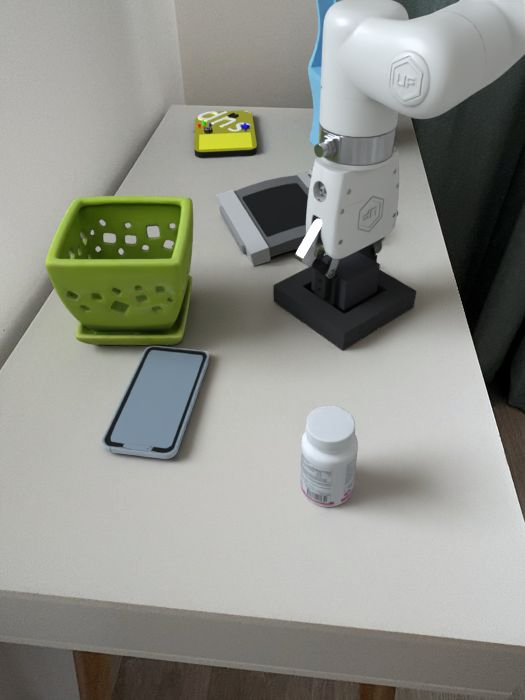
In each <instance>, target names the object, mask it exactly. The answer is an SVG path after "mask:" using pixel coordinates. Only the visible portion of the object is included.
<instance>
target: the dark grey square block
mask: <svg viewBox="0 0 525 700" xmlns="http://www.w3.org/2000/svg"><path fill="white" fill-rule="evenodd" d="M329 257H330V256H329V255H327V254H324V258H323V261H324V262H325V263H326V264H327V263H328V260H329ZM379 269H380V270H381V263H379V262H378V261H377V262H376V261H374V260H372V259H370V258H368V257H367V256H365V255H363V254H361V253H359V252H358V251H356V252H354V253H352V254H351V255H348V256H346V257H344V258H341V259H339V263H338V266H337V269H336V272H335V273H336V274H337V275H338V276H339V279H338V293H337V303H336V304H334V305H336V306H338V307H339V308H341V309H342V310H346V309H348V308H350V307H351V306H353V305H355V304H357V303H358V302H360V301H362V300H364V299H365V298H367V297H369V296H371V295H372V294H374V293H376V292H377V285H378V277H379ZM312 290H313V291H315V269H313V268H312Z"/></svg>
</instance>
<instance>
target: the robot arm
mask: <svg viewBox="0 0 525 700" xmlns="http://www.w3.org/2000/svg"><path fill="white" fill-rule="evenodd" d="M524 56H525V0H458V1H457V2H455V3H452V4H450V5H449V4H448V5H447V6H444V7H443V8H441V9H439V10H436V11H434V12H432V13H429V14H426V15H422V16H419V17H415V18H411V19H410V18H409V14H408V12H407V9H406V8H405V7H404V5H402V4H401V3H400V2H398V1H396V0H342V1H339V2H336V3H335V4H333V5H332V6H331V7H330V8H329V9H328V11H327V13H326V15H325V19H324V25H323V43H322V68H321V93H320V119H319V143H318V144H316V145H315V147H314V146H313V152H314V154H315V156H316V157H315V158H314V162H313V167H312V169H313V171H312V176H311V181H310V187H309V194H308V202H307V214H306V236H305V238H304V240H303V241H302V243H301V245H300V247H299V248H298V249H296V252H295V254H294V258H295V259H296V260H297V261H299V262H301V264H303V265H305V266H307V267H312V268H313V269H315V294H316V295H317V296H318V297H320V298H321V299H323V300H324V301H326V302H327V303H329V304H331V305H334V304H336V303H337V293H338V279H339V276H338V275H337V274H336V273H335V272H336V269H337V266H338V263H339V259H341V258H344V257H346V256H348V255H351V254H352V253H354V252H356V251H358V252H359V253H361V254H363V255H365V256H367V257H368V258H370V259H372V260H374V261H376V262H377V263H378V254H379V253H380V252H381V251H382V249H383V241H384V239H385V237H387V236H388V235H390V234H391V233H392V232H393V231H394V230H395V227H396V223H397V217H398V216H399V210H398V209H399V199H400V198H399V197H400V159H399V152H398V148H397V147H396V145H395V144H396V136H397V135H396V134H397V128H398V127H397V126H398V119H399V114H400V115H403V116H405V117H408V118H411V119H418V120H427V119H434V118H437V117H439V116H441V115H443V114H445V113H447V112H449V111H450V110H452V109H453V108H455V107H456V106H458V105H459V104H461V103H462V102H464V101H465V100H467V99H469V98H470V97H471V96H473V95H474V94H476V93H477V92H479V91H481V90H482V89H484V88H486V87H487V86H489V85H490V84H492V83H493V82H495V81H496V80H497V79H499V78H500V77H502V75H504V74H505V73H506V72H507V71H508V70H509V69H510V68H512V66H514V65H515V64H516V63H517V62H518V61H519V60H521V58H522V57H524ZM325 255H329V256H330V257H329V260H328V263H327V264H326V263H325V262H324V261H323V258H324V256H325Z"/></svg>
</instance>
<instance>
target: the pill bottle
mask: <svg viewBox="0 0 525 700" xmlns="http://www.w3.org/2000/svg"><path fill="white" fill-rule="evenodd" d="M300 444H301V446H300V479H299V481H300V489H301V491H302V494H303V495H304V497H305V498H306V500H308V501H309V502H311V503H312V504H314V505H316V506H319V507H324V508H330V507H336V506H339V505H342V504H343V503H345V502H346V501H347V500H348V499H350V497H351V495H352V494H353V491H354V488H355V487H354V486H355V479H356V469H357V458H358V451H359V441H358V437H357V435H356V420H355V418H354V416H353V415H352V414H351V413H350V412H349V411H348V410H346V409H344V408H342V407H340V406H337V405H322V406H319V407H317V408H315V409H313V410H312V411H310V412H309V414H308V415H307V417H306V421H305V431H304V432H303V434H302V437H301V441H300Z"/></svg>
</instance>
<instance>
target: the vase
mask: <svg viewBox="0 0 525 700" xmlns="http://www.w3.org/2000/svg"><path fill="white" fill-rule="evenodd" d="M339 1H342V0H315V4H316V11H317V12H316V13H317V35H316V40H315V45H314V48H313V52H312V54H311V57H310V60H309V62H308V65H307V74H308V80H309V84H310V90H311V98H312V107H313V108H312V109H313V112H312V113H313V114H312V124H311V130H310V135H309V139H308V141H309V143H310V144H311V145H312V146H313V148H314V147H315V145H316V144H318V143H319V119H320V93H321V68H322V43H323V25H324V19H325V15H326V13H327V11H328V9H329V8H330V7H331V6H332V5H333V4H335V3H336V2H339Z"/></svg>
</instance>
